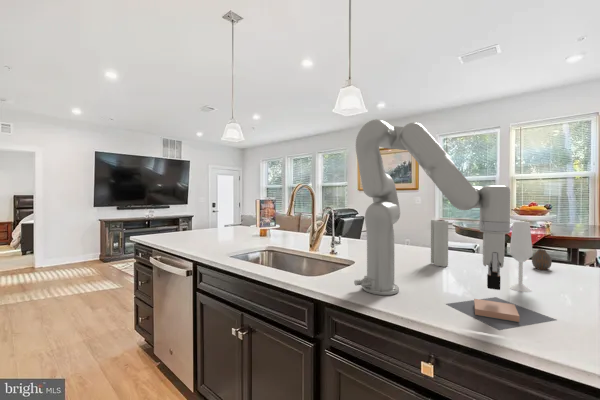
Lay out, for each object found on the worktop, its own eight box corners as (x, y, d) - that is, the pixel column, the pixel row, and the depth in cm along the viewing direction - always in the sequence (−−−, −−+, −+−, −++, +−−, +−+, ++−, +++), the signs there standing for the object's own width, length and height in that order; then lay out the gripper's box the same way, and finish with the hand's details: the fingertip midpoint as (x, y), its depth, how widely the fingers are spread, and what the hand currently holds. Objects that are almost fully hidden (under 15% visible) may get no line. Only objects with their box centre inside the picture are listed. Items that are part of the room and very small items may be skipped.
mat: (499, 331, 74) (499, 329, 74) (445, 305, 91) (445, 303, 91) (557, 321, 80) (557, 319, 80) (496, 298, 97) (496, 297, 97)
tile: (474, 304, 91) (475, 315, 83) (474, 298, 90) (475, 308, 83) (514, 311, 86) (519, 323, 78) (514, 304, 86) (519, 316, 78)
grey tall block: (450, 266, 138) (450, 220, 137) (437, 267, 138) (437, 221, 137) (443, 263, 145) (443, 219, 144) (430, 263, 145) (430, 219, 145)
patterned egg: (550, 268, 135) (550, 248, 134) (552, 271, 129) (553, 251, 129) (530, 266, 138) (531, 247, 138) (532, 269, 133) (532, 249, 132)
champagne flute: (536, 292, 103) (537, 223, 102) (515, 291, 104) (516, 222, 103) (525, 286, 109) (526, 221, 109) (505, 285, 110) (505, 220, 110)
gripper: (479, 224, 97) (478, 280, 97) (480, 229, 84) (479, 293, 84) (507, 225, 93) (506, 283, 93) (512, 230, 80) (511, 298, 80)
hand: (493, 288), depth 89 cm, fingers closed
